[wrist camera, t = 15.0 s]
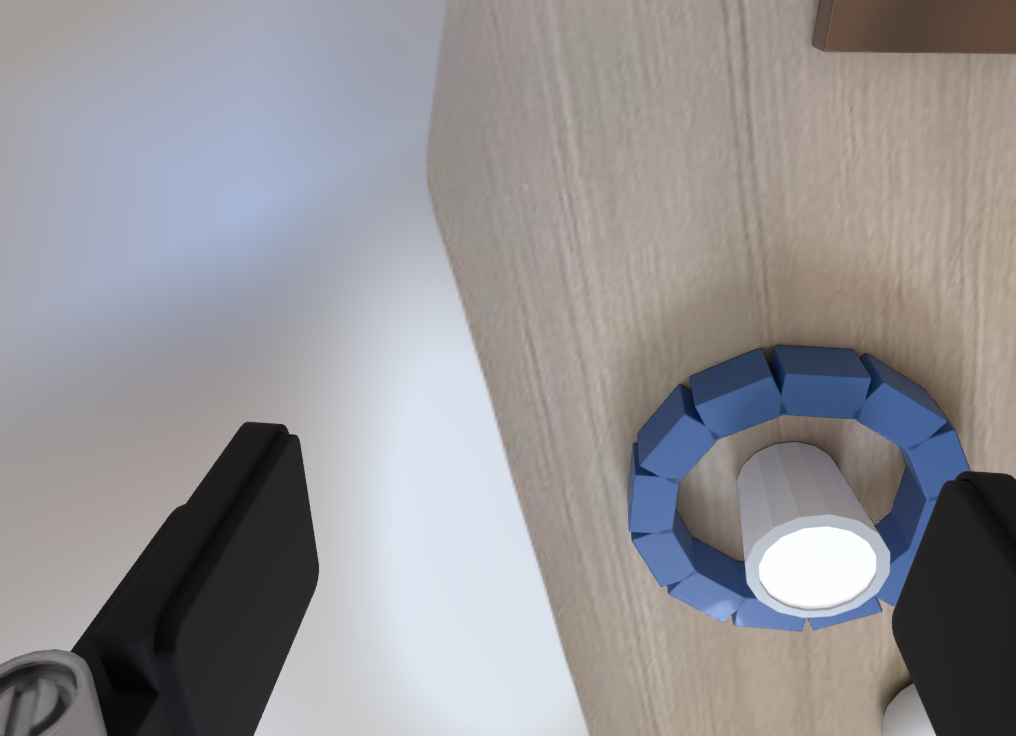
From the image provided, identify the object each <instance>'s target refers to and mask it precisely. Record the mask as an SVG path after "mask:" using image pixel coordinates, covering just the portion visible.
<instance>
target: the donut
mask: <svg viewBox="0 0 1016 736" xmlns="http://www.w3.org/2000/svg"><path fill="white" fill-rule="evenodd" d="M881 729H882V735H883V736H936V734H935V732H934V730H933V727H932V725H931V723H930V720H929V718H928V716H927V713H926V711H925V709H924V706H923V704H922V702H921V699H920V697H919V695H918V692H917V690H916V688H915V685H914V683H913V684H911V685H910V686H908V687H906V688H905V689H903V690H902V691H901V692H900V693H899V694H898V695H897V696H896V697H895V698H894V699H893V700H892V702H891V703H890V704H889V705H888V706H887V709H886V712H885V715H884V718H883V721H882V725H881Z"/></svg>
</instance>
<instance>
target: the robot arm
mask: <svg viewBox="0 0 1016 736" xmlns="http://www.w3.org/2000/svg"><path fill="white" fill-rule="evenodd" d="M318 575H319V562H318V556H317V550H316V543H315V536H314V530H313V523H312V517H311V510H310V504H309V498H308V491H307V484H306V479H305V471H304V465H303V458H302V452H301V445H300V441H299V438H298V436H297V435H292V434H289V432H288V430H287V428H286V426H285V425H283V424H273V423H272V424H271V423H257V422H246V423H244V424H243V425H242V426H241V427H240V428H239V430H238V431H237V433H236V434H235V435H234V437H233V438H232V440H231V441H230V442H229V444H228V445H227V447H226V448H225V449H224V451H223V452H222V454H221V455H220V456H219V458H218V459H217V461H216V462H215V463H214V465H213V466H212V468H211V469H210V470H209V472H208V473H207V475H206V476H205V478H204V479H203V480H202V482H201V483H200V484H199V486H198V487H197V489H196V490H195V491H194V493H193V494H192V496H191V497H190V499H189V500H188V501H187V503H186V504H184V505H182V506H179V507H177V508H176V509H175V510H174V511H173V512H172V513H171V514H170V515H169V517H168V518H167V519H166V521H165V522H164V523H163V525H162V526H161V528H160V529H159V530H158V532H157V533H156V534H155V536H154V537H153V539H152V540H151V541H150V543H149V544H148V545H147V547H146V548H145V550H144V551H143V553H142V554H141V555H140V556H139V558H138V559H137V561H136V562H135V563H134V565H133V566H132V567H131V569H130V570H129V572H128V573H127V574H126V576H125V577H124V579H123V580H122V581H121V583H120V584H119V585H118V587H117V588H116V589H115V591H114V592H113V594H112V595H111V596H110V598H109V599H108V600H107V602H106V603H105V605H104V606H103V607H102V609H101V610H100V611H99V613H98V614H97V616H96V617H95V618H94V620H93V621H92V622H91V624H90V625H89V627H88V628H87V629H86V631H85V632H84V634H83V635H82V636H81V638H80V639H79V640H78V642H77V643H76V644H75V646H74V647H73V649H72V650H71V651H70V652H68V651H62V650H57V649H55V650H44V651H35V652H32V653H28V654H25V655H21V656H18V657H15V658H12V659H11V660H9V661H7V662H5V663H3V664H1V665H0V736H254V733H255V731H256V728H257V726H258V724H259V721H260V719H261V717H262V714H263V712H264V710H265V707H266V705H267V702H268V700H269V698H270V695H271V693H272V691H273V688H274V686H275V684H276V681H277V679H278V677H279V674H280V672H281V669H282V667H283V665H284V662H285V660H286V657H287V655H288V653H289V651H290V648H291V646H292V643H293V641H294V639H295V636H296V634H297V631H298V629H299V627H300V624H301V622H302V619H303V617H304V615H305V612H306V610H307V608H308V606H309V603H310V601H311V598H312V596H313V594H314V591H315V588H316V586H317V581H318ZM892 630H893V635H894V638H895V641H896V643H897V646H898V648H899V650H900V653H901V655H902V657H903V660H904V662H905V664H906V667H907V669H908V671H909V674H910V676H911V678H912V681H913V683H914V685H915V688H916V690H917V692H918V695H919V697H920V699H921V702H922V704H923V706H924V709H925V711H926V713H927V716H928V718H929V720H930V723H931V725H932V727H933V730H934V732H935V734H936V736H1016V479H1015V478H1013V477H1012V476H1011V475H1008V474H1003V473H988V472H973V471H964V472H961V473H960V474H959V475H958V476H957V477H956V479H955V480H949V481H946V482H945V483H944V484H943V486H942V488H941V490H940V493H939V496H938V498H937V501H936V503H935V506H934V508H933V511H932V514H931V516H930V519H929V521H928V524H927V526H926V529H925V532H924V534H923V537H922V539H921V542H920V544H919V547H918V550H917V552H916V555H915V557H914V560H913V562H912V565H911V568H910V570H909V573H908V575H907V578H906V580H905V583H904V586H903V588H902V591H901V593H900V596H899V598H898V601H897V604H896V606H895V609H894V612H893V615H892Z"/></svg>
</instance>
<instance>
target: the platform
mask: <svg viewBox="0 0 1016 736" xmlns="http://www.w3.org/2000/svg"><path fill="white" fill-rule="evenodd" d="M812 46H813V47H815V48H817V49H819V50H822V51H824V52H878V53H975V54H1016V0H820V4H819V9H818V15H817V20H816V26H815V31H814V37H813V42H812Z"/></svg>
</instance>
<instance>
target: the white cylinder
mask: <svg viewBox="0 0 1016 736" xmlns="http://www.w3.org/2000/svg"><path fill="white" fill-rule="evenodd" d="M737 486H738V497H739V507H740V518H741V528H742V538H743V549H744V559H745V569H746V580H747V584H748V586H749V587H750V589H751V590H752V592H753V593H754V594H755V596H756V597H757V599H758V600H759V601H761V602H762V603H764V604H766V605H767V606H769V607H771V608H772V609H774V610H776V611H777V612H779V613H784V614H788V615H793V616H798V617H802V618H812V617H828V616H834V615H837V614H840V613H843V612H846V611H849V610H852V609H855V608H858V607H859V606H860V605H862V604H863V603H864V602H866V601H867V600H868V599H870V598H871V597H873V596H874V595H875V594H877V593H878V592H879V590H880V588H881V587H882V585H883V583H884V582H885V580H886V578H887V577H888V575H889V573H890V551H889V550H888V548H887V546H886V545H885V543H884V541H883V540H882V538H881V536H880V535H879V533H878V531H877V530H876V528H875V527H874V525H873V523H872V522H871V520H870V519H869V517H868V515H867V514H866V512H865V511H864V509H863V507H862V506H861V504H860V503H859V501H858V499H857V498H856V496H855V495H854V493H853V491H852V490H851V488H850V487H849V485H848V483H847V482H846V480H845V479H844V477H843V475H842V474H841V472H840V471H839V469H838V467H837V466H836V464H835V463H834V461H833V459H832V458H831V456H830V455H828V454H827V453H825V452H824V451H822V450H821V449H819V448H818V447H816V446H813V445H808V444H804V443H799V442H789V443H780V444H774V445H772V446H769V447H767V448H765V449H763V450H760V451H758V452H756V453H755V454H754V455H753V456H752V457H751V458H750V459H749V460H748V461H747V462H746V463H745V464H743V466H742V469H741V471H740V474H739V476H738V478H737Z"/></svg>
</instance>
